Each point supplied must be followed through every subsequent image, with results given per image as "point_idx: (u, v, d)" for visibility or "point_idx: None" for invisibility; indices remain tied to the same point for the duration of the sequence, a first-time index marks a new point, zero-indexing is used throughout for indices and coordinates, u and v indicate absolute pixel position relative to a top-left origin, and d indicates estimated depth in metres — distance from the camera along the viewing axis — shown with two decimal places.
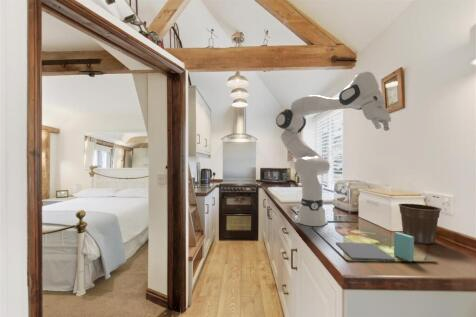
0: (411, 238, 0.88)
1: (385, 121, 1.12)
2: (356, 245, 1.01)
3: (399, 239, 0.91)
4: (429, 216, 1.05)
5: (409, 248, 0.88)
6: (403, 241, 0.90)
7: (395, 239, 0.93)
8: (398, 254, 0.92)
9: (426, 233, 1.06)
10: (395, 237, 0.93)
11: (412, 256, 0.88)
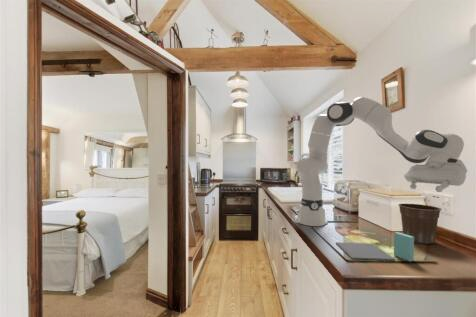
0: (411, 238, 0.88)
1: (416, 181, 1.02)
2: (356, 245, 1.01)
3: (399, 239, 0.91)
4: (429, 216, 1.05)
5: (409, 248, 0.88)
6: (403, 241, 0.90)
7: (395, 239, 0.93)
8: (398, 254, 0.92)
9: (426, 233, 1.06)
10: (395, 237, 0.93)
11: (412, 256, 0.88)
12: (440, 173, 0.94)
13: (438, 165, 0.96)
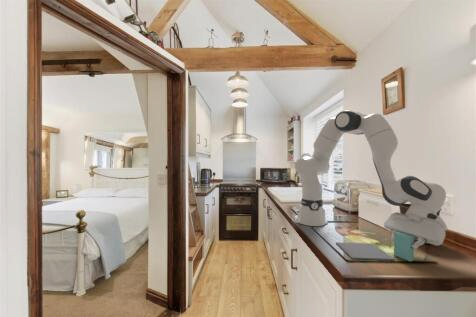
0: (411, 238, 0.88)
1: None
2: (356, 245, 1.01)
3: (399, 239, 0.91)
4: None
5: (409, 248, 0.88)
6: (403, 241, 0.90)
7: (395, 239, 0.93)
8: (398, 254, 0.92)
9: None
10: (395, 237, 0.93)
11: (412, 256, 0.88)
12: (419, 228, 0.89)
13: (418, 219, 0.91)
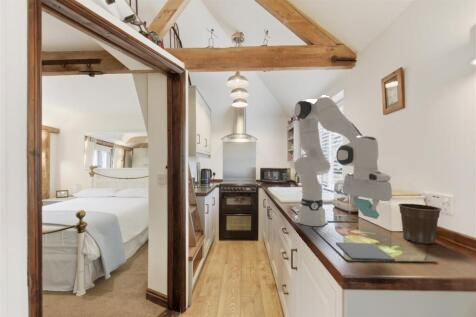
0: (367, 203, 0.93)
1: (357, 195, 1.01)
2: (356, 245, 1.01)
3: (359, 205, 0.97)
4: (429, 216, 1.05)
5: (370, 211, 0.94)
6: (363, 207, 0.96)
7: (357, 205, 0.99)
8: (366, 215, 0.99)
9: (426, 233, 1.06)
10: (356, 204, 0.99)
11: (376, 213, 0.95)
12: (369, 190, 0.93)
13: (364, 181, 0.94)
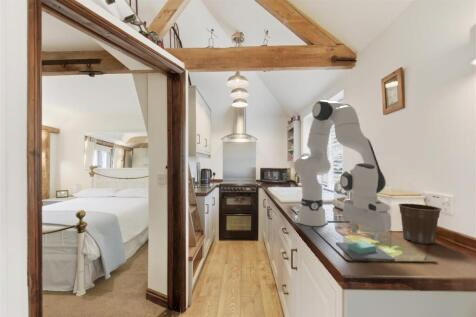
0: (360, 252, 0.92)
1: None
2: None
3: None
4: (429, 216, 1.05)
5: (367, 252, 0.94)
6: None
7: None
8: None
9: (426, 233, 1.06)
10: None
11: (373, 248, 0.95)
12: (369, 220, 0.93)
13: (363, 210, 0.94)
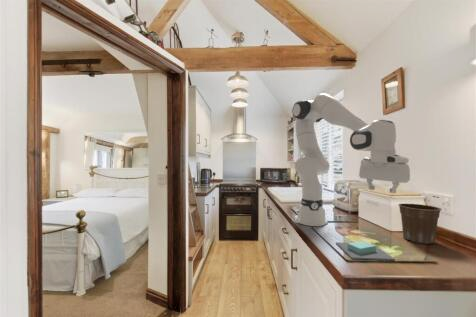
0: (360, 252, 0.92)
1: (371, 179, 1.03)
2: None
3: None
4: (429, 216, 1.05)
5: (367, 252, 0.94)
6: None
7: None
8: None
9: (426, 233, 1.06)
10: None
11: (373, 248, 0.95)
12: (387, 173, 0.94)
13: (382, 164, 0.96)
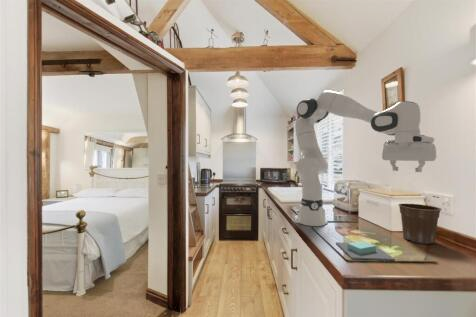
0: (360, 252, 0.92)
1: (395, 161, 1.05)
2: None
3: None
4: (429, 216, 1.05)
5: (367, 252, 0.94)
6: None
7: None
8: None
9: (426, 233, 1.06)
10: None
11: (373, 248, 0.95)
12: (412, 153, 0.97)
13: (407, 144, 0.98)
